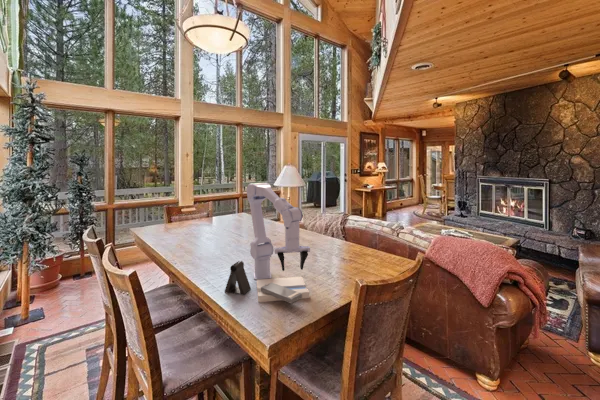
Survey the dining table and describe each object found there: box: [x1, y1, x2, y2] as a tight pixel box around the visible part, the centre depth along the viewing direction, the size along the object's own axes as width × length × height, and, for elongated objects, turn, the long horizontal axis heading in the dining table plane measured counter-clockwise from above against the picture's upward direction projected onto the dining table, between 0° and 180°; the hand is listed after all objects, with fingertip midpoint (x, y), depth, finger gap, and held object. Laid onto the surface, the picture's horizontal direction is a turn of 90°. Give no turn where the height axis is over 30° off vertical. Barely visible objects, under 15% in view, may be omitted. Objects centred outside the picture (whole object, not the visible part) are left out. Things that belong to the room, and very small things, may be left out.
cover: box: [261, 283, 302, 304], centre depth 111 cm, size 6×17×2 cm, turn 50°
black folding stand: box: [224, 260, 252, 296], centre depth 120 cm, size 9×6×12 cm, turn 73°
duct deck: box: [256, 276, 310, 303], centre depth 120 cm, size 16×20×2 cm
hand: (292, 269), depth 119 cm, fingers open, 7 cm apart
